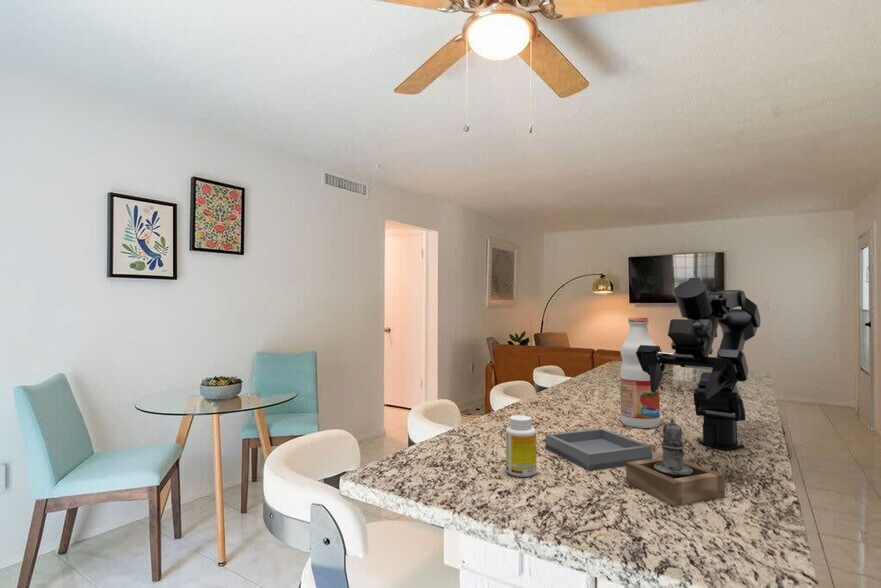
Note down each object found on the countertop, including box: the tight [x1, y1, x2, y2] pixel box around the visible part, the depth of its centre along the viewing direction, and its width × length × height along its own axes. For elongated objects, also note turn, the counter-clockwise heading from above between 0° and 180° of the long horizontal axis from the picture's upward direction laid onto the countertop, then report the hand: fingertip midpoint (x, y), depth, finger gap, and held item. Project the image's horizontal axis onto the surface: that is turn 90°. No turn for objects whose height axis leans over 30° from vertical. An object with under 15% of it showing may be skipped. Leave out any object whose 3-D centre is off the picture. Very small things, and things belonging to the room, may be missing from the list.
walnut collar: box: [625, 456, 726, 507], centre depth 79 cm, size 10×10×4 cm
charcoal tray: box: [545, 427, 653, 471], centre depth 98 cm, size 15×15×3 cm
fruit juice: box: [619, 316, 661, 429], centre depth 123 cm, size 9×9×28 cm
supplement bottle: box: [505, 414, 537, 478], centre depth 87 cm, size 6×6×10 cm
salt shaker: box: [654, 417, 693, 479], centre depth 79 cm, size 6×6×12 cm
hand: (677, 394), depth 86 cm, fingers open, 9 cm apart
